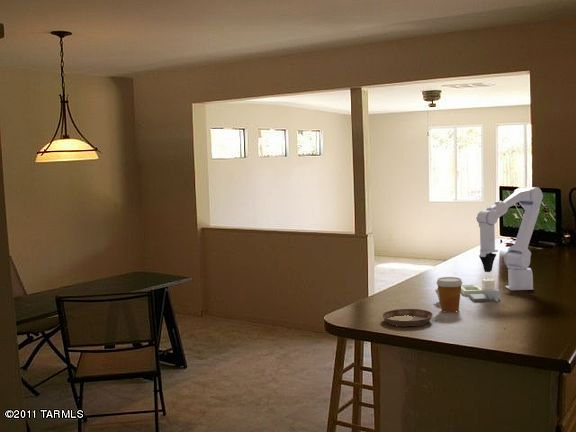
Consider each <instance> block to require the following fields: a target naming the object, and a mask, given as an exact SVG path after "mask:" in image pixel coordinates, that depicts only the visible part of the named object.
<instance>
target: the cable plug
mask: <svg viewBox="0 0 576 432" xmlns="http://www.w3.org/2000/svg"><path fill="white" fill-rule="evenodd" d="M485 294H486V295H485V296H487V297H488V298H489V299H490V300H491V301H492V300H493V301H494V302H497V303H498V302H499V300H500V290H499V289H497V288H495V289H485Z"/></svg>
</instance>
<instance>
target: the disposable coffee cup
mask: <svg viewBox="0 0 576 432" xmlns="http://www.w3.org/2000/svg"><path fill="white" fill-rule="evenodd" d="M435 283H436V285H437V289H438V290H439V297H440V302H439V303H440V309H441V312H443V311H447V312H446V313H457V312H456V311H458V312H460V303H461V294H462V293H461V285H463V283H464V282H463V281H462V278H460V277H455V276H445V277H444V276H443V277H438V278H437V280H436V282H435Z"/></svg>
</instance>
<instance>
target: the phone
mask: <svg viewBox="0 0 576 432" xmlns="http://www.w3.org/2000/svg"><path fill="white" fill-rule="evenodd" d="M468 298H469V299H470V300H471V301H472V302H473V301H474V302H473V303H489V302H490V299H489V298H488V297H487V296H486V295H484V294H468Z"/></svg>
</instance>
